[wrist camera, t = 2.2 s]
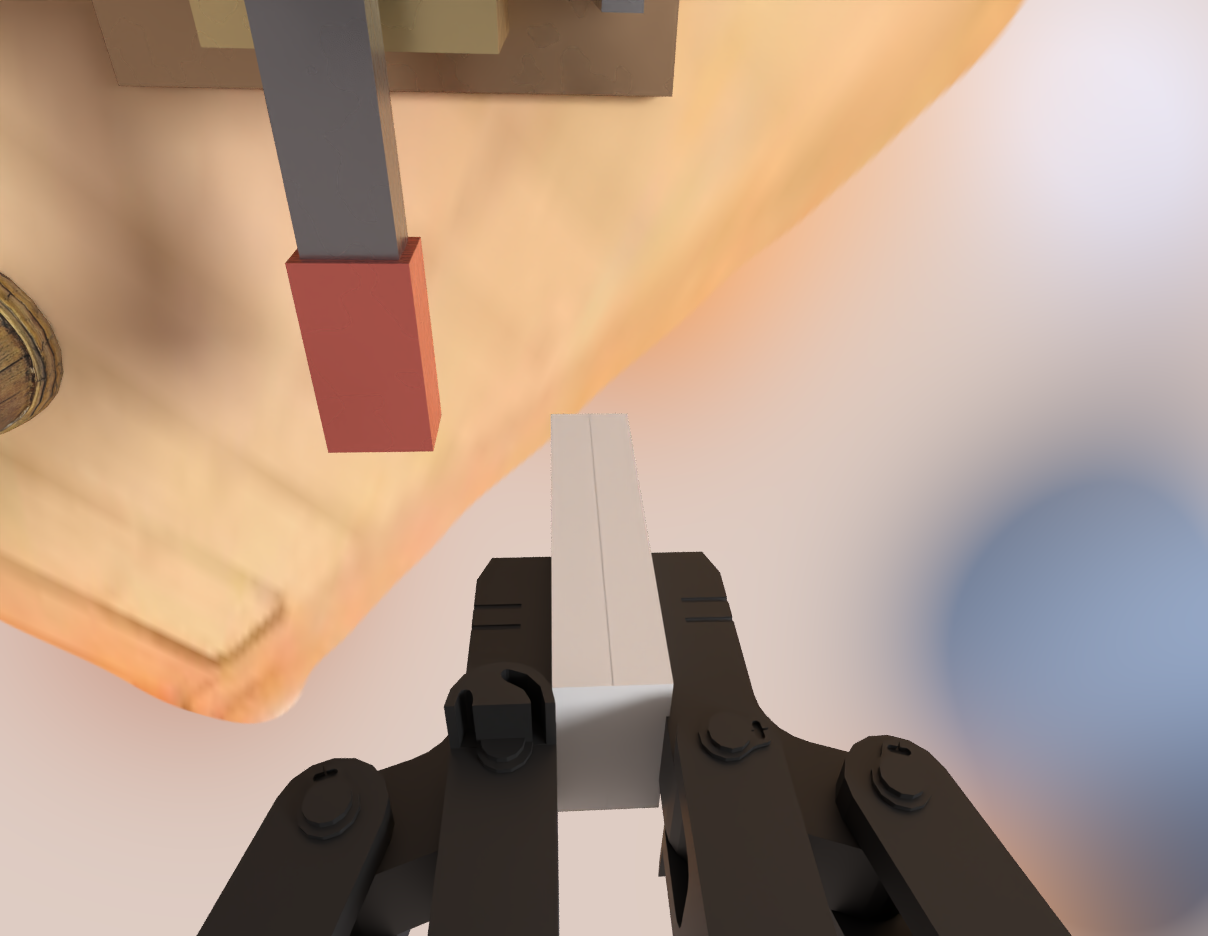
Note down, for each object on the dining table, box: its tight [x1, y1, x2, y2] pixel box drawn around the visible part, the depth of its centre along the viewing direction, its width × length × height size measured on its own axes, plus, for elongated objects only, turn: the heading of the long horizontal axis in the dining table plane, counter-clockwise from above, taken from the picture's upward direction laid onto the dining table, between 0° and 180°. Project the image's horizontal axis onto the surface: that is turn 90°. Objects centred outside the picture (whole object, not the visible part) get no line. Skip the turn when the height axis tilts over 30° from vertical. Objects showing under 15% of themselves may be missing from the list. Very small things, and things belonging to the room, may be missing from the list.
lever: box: [244, 0, 441, 453], centre depth 19 cm, size 16×4×2 cm, turn 178°
